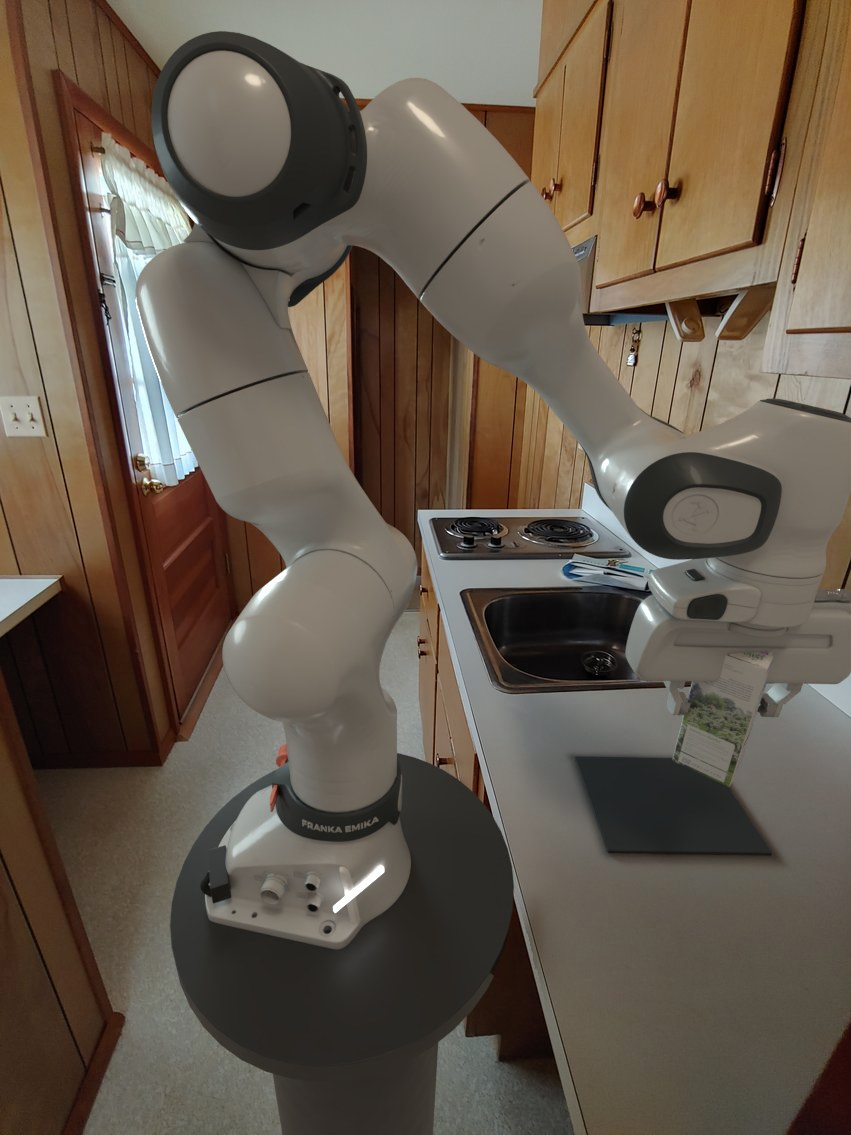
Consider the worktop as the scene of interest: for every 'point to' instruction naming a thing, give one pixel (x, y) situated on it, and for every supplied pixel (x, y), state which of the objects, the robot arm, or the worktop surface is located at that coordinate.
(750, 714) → the syrup box
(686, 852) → the mat
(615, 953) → the worktop surface
